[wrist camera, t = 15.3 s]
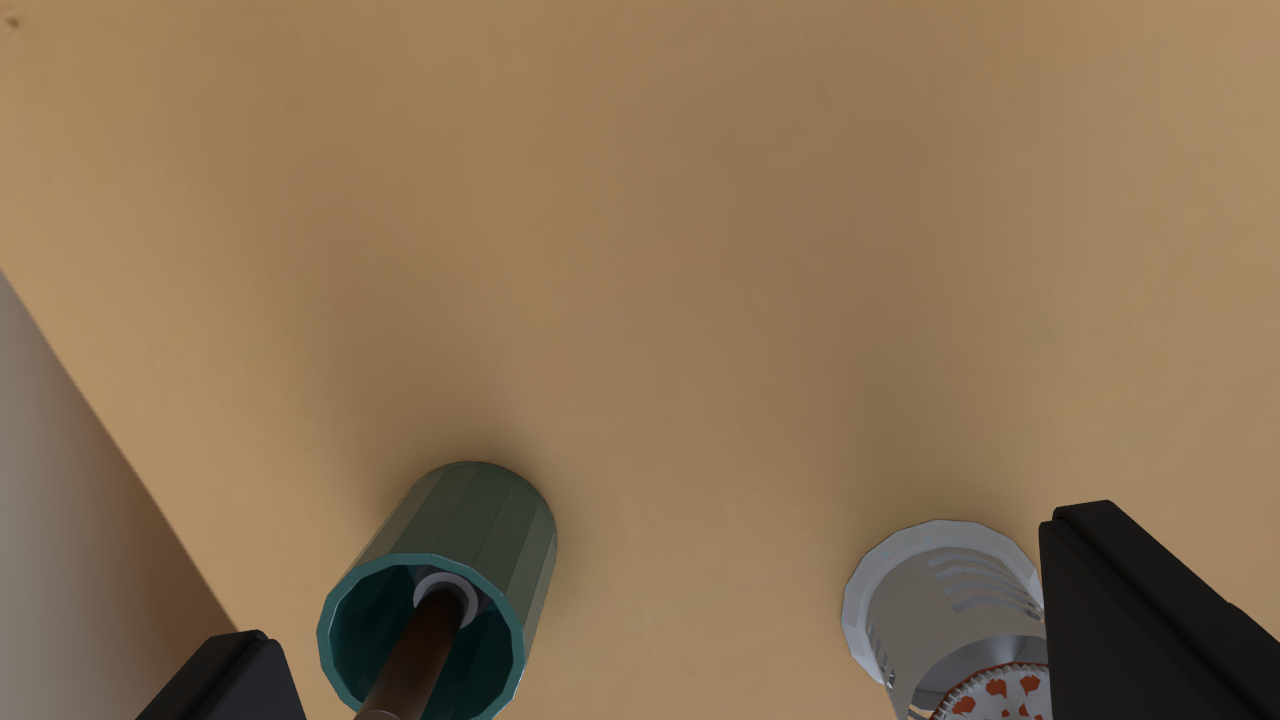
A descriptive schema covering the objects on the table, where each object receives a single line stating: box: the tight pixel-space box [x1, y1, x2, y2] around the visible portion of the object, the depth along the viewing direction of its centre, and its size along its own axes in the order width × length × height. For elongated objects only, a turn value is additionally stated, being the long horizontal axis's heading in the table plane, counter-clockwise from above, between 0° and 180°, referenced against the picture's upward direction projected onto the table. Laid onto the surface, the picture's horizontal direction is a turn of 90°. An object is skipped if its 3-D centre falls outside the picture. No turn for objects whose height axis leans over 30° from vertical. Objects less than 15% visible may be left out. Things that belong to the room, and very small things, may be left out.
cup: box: [316, 462, 557, 720], centre depth 38 cm, size 8×8×10 cm
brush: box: [354, 565, 492, 720], centre depth 35 cm, size 4×4×14 cm
